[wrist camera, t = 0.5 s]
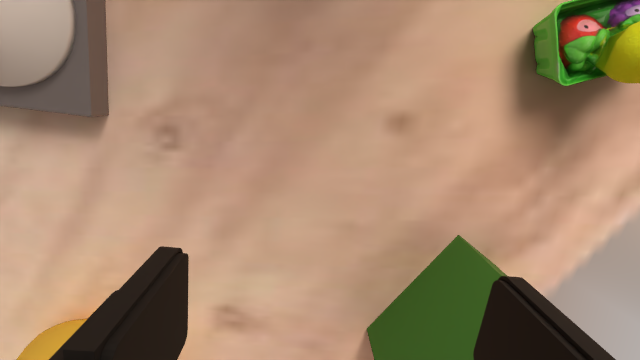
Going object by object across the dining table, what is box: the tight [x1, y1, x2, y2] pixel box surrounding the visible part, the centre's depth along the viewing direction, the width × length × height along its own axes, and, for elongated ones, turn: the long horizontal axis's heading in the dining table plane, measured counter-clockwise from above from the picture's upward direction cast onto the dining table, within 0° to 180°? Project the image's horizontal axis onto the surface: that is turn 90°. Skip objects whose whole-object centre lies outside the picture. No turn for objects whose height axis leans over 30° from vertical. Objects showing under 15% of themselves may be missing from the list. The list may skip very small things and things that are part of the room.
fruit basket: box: [533, 0, 640, 86], centre depth 31 cm, size 11×9×11 cm
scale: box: [0, 0, 109, 117], centre depth 32 cm, size 18×17×5 cm
